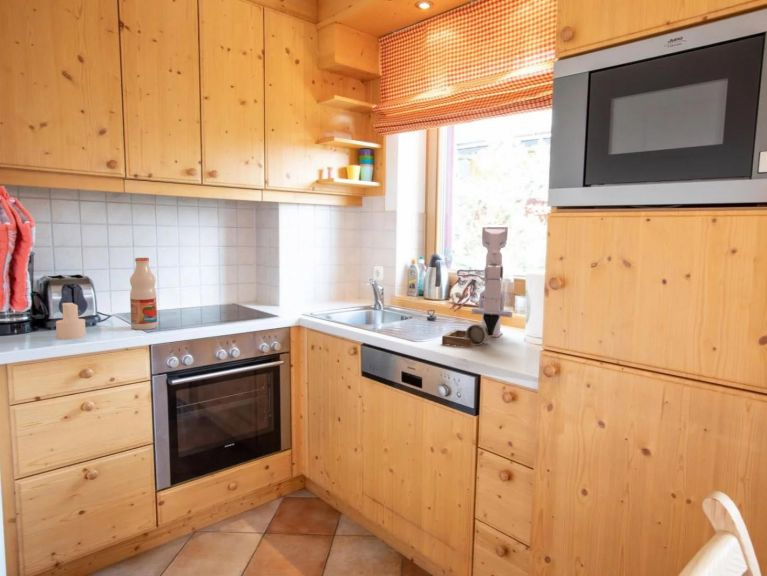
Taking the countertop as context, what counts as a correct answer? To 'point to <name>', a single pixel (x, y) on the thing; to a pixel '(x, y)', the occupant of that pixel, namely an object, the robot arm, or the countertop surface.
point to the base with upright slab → (70, 323)
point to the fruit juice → (143, 297)
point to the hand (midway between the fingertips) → (490, 334)
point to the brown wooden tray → (456, 338)
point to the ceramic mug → (477, 334)
